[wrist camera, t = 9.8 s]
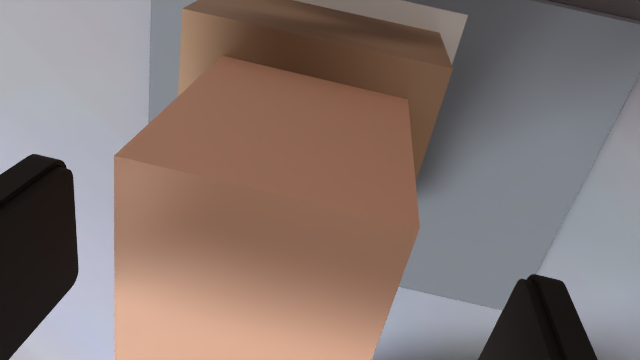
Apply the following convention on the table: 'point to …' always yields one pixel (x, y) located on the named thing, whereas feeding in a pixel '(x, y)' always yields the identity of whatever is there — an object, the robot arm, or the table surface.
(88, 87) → the table surface
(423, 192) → the build mat
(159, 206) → the top block
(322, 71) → the base block
